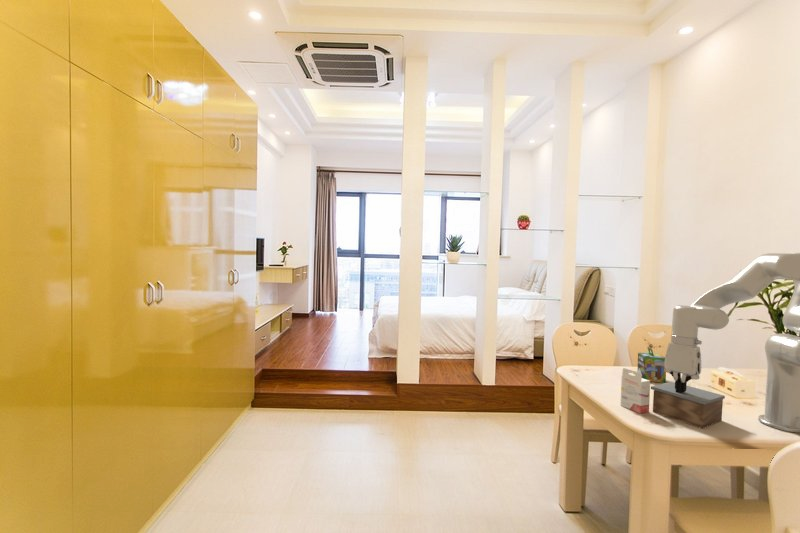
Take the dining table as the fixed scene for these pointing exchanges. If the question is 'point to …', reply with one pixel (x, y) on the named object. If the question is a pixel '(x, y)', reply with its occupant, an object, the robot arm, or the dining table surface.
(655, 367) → the chalk box
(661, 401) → the box
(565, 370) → the dining table surface
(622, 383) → the ink cartridge box
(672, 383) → the lid
